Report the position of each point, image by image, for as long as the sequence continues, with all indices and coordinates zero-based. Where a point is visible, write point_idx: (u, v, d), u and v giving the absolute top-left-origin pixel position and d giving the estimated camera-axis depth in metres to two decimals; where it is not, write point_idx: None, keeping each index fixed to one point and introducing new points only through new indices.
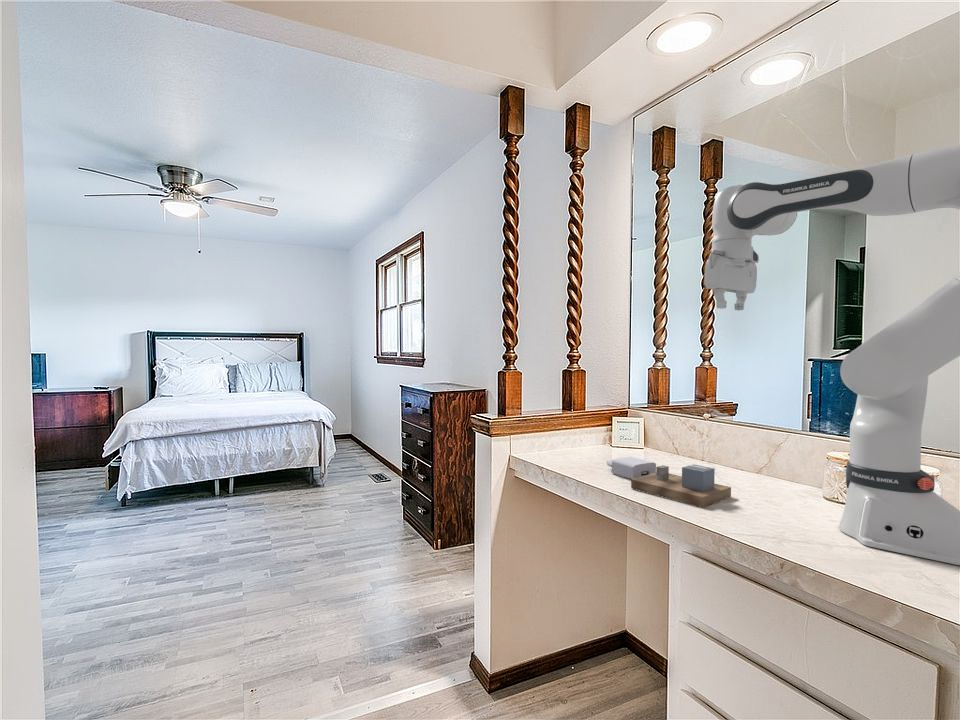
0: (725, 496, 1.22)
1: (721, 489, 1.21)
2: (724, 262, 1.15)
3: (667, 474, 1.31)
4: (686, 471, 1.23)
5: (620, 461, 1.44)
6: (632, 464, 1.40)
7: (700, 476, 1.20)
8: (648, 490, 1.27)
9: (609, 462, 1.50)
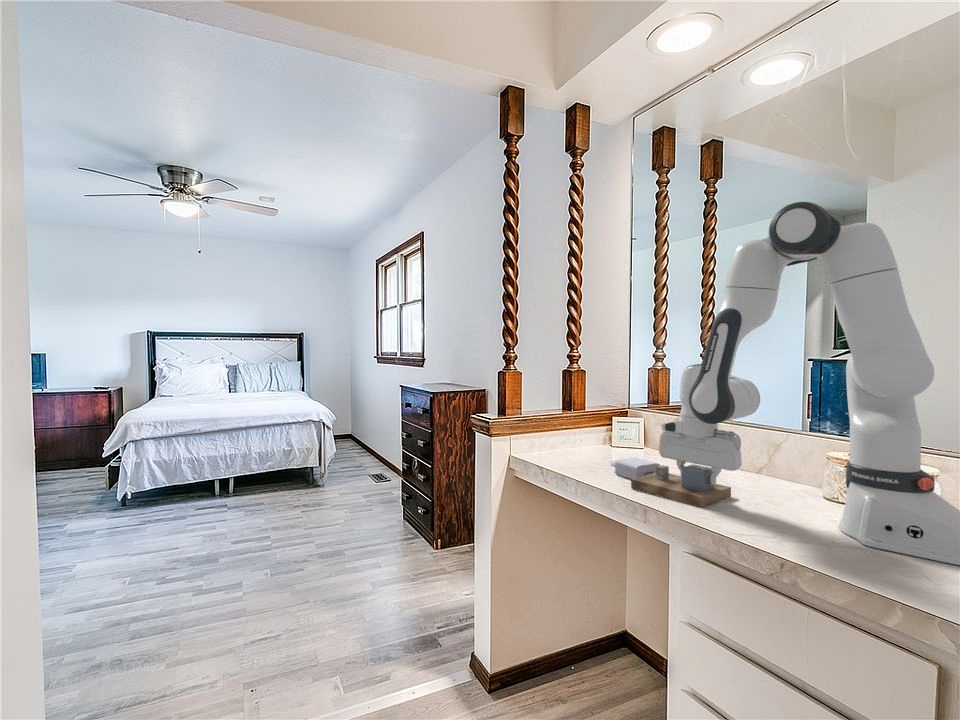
0: (725, 496, 1.22)
1: (721, 489, 1.21)
2: None
3: (667, 474, 1.31)
4: (686, 471, 1.23)
5: (623, 462, 1.43)
6: (635, 465, 1.39)
7: (700, 476, 1.20)
8: (648, 490, 1.27)
9: (613, 463, 1.50)
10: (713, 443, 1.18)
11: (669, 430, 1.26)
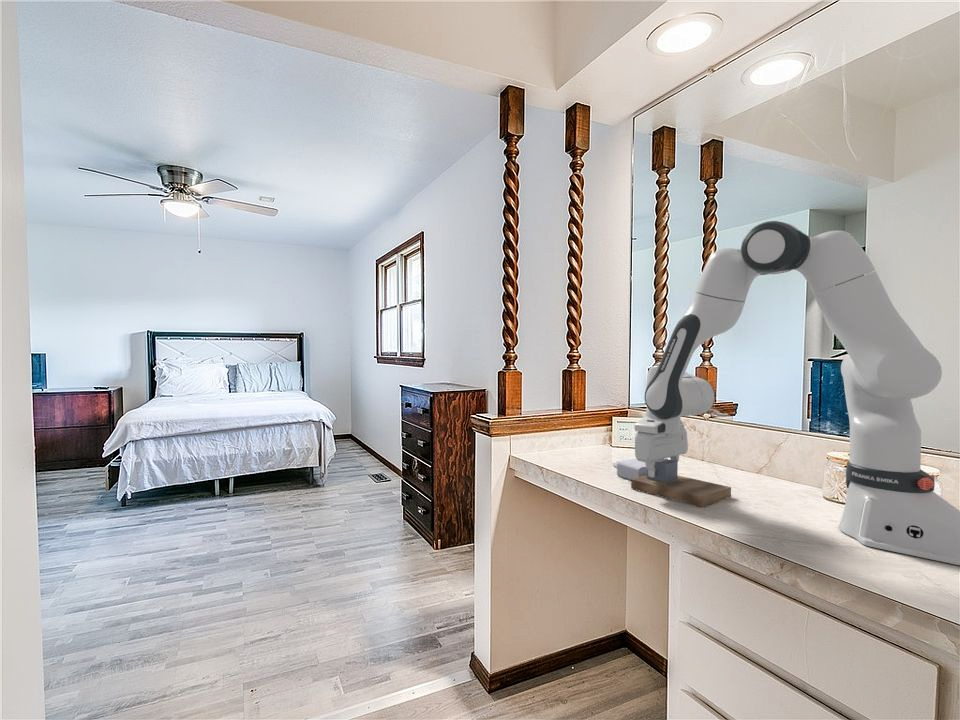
0: (725, 496, 1.22)
1: (721, 489, 1.21)
2: None
3: None
4: (668, 466, 1.28)
5: (625, 463, 1.42)
6: (637, 466, 1.37)
7: (676, 466, 1.30)
8: (648, 490, 1.27)
9: (615, 464, 1.48)
10: (678, 434, 1.33)
11: (661, 432, 1.25)
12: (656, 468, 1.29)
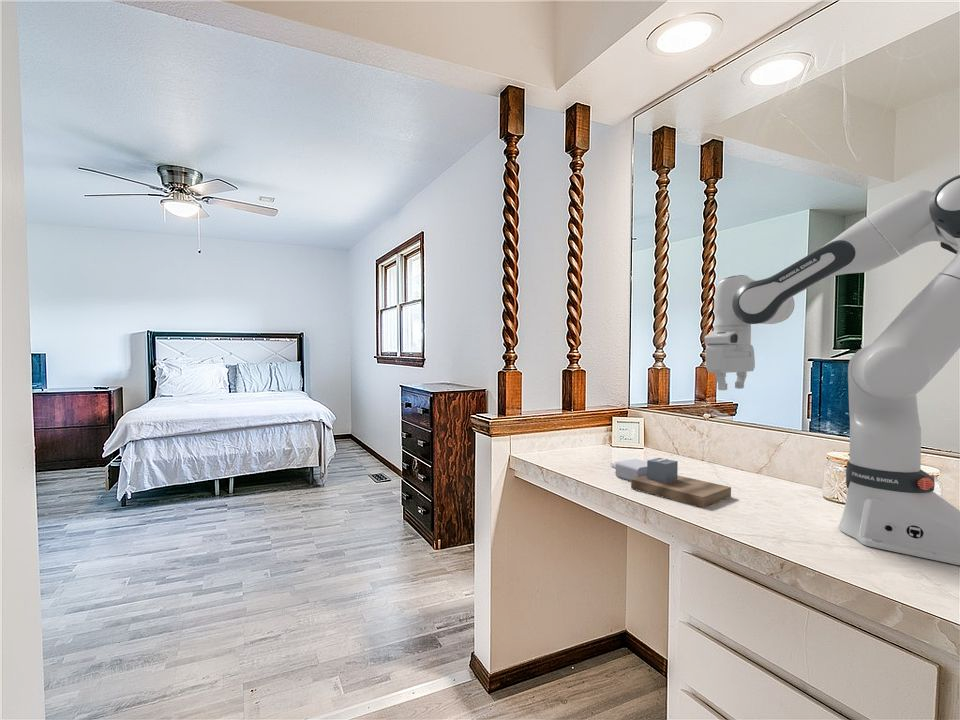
0: (725, 496, 1.22)
1: (721, 489, 1.21)
2: None
3: None
4: (668, 466, 1.28)
5: (624, 463, 1.41)
6: (636, 467, 1.37)
7: (676, 466, 1.30)
8: (648, 490, 1.27)
9: (613, 464, 1.47)
10: (746, 349, 1.30)
11: (733, 342, 1.23)
12: (656, 468, 1.29)
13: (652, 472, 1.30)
